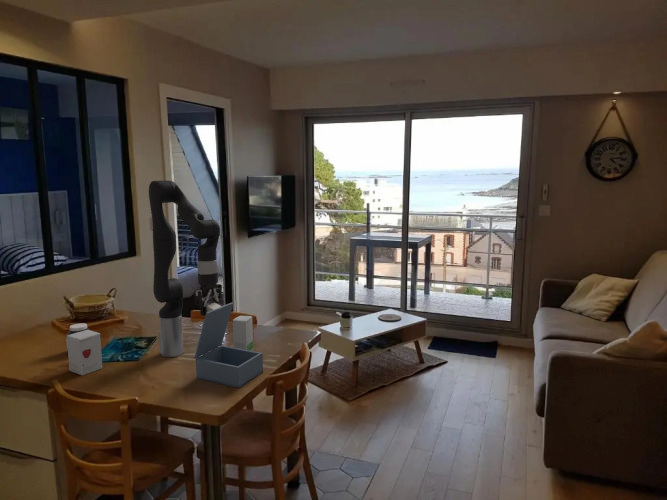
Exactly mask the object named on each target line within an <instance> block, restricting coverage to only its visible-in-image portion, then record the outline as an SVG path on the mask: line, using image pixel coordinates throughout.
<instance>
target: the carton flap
mask: <svg viewBox="0 0 667 500" xmlns="http://www.w3.org/2000/svg"><path fill="white" fill-rule="evenodd" d="M233 306H234V302H230V303H227V304H224V305H220V304H219V303H218V304H217V303H215V302H214V303H212V302H211V303H209V304H206V316H204V320H203V323H202V328H201V332H200V336H199V339H198V342H197V347H196V351H195V354H194V359H195V360H196V358H198V357H200V356H202V355H204V354H206V353H208V352H210V351H212V350H214V349H216V348H218V347H220V346H221V345H222V346H223V342H224V339H225V335H226V331H227V329H228V328H227V327H228V325H229V320H230V317H231V313H232V310H233Z"/></svg>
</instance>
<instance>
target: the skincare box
mask: <svg viewBox="0 0 667 500" xmlns="http://www.w3.org/2000/svg"><path fill="white" fill-rule="evenodd" d="M253 327H254V326H253V316H251V315H239V316H237V317H235V318H233V319H232V333H233V334H232V337H233V339H232V340H233V348H238V349H244V350H249V351H253V350H254V334H253V333H254V332H253V331H254V330H253Z"/></svg>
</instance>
